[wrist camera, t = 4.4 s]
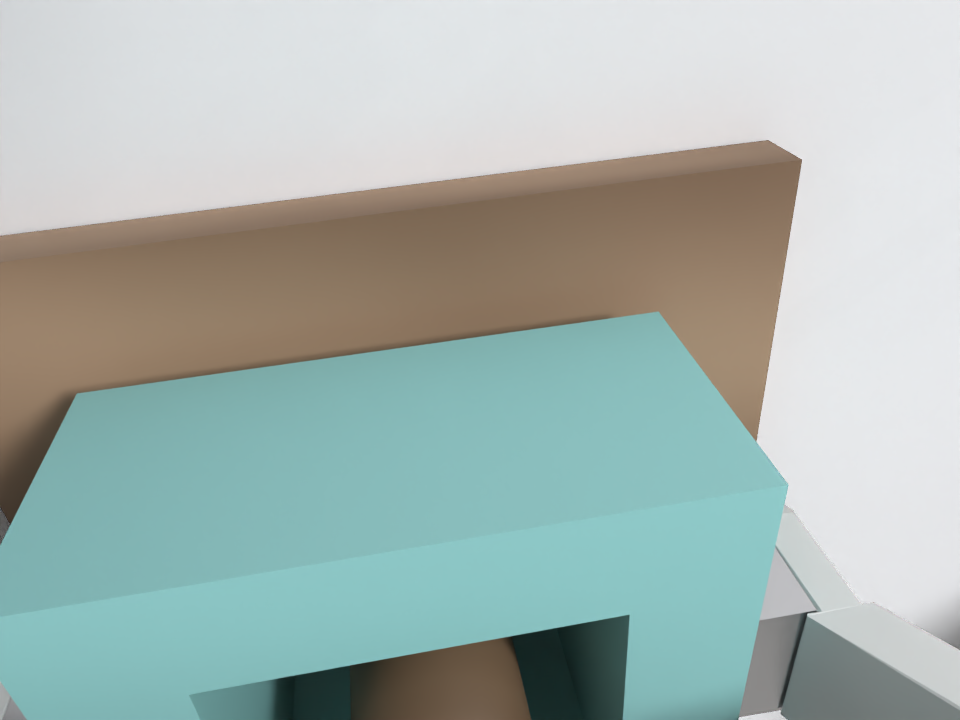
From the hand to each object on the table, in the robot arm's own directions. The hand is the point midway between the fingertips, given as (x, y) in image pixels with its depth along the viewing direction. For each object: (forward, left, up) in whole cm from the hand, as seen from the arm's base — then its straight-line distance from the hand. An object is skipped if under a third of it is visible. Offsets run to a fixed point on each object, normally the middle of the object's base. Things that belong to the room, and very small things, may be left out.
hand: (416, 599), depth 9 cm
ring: (0, 0, -1) cm, 1 cm away
